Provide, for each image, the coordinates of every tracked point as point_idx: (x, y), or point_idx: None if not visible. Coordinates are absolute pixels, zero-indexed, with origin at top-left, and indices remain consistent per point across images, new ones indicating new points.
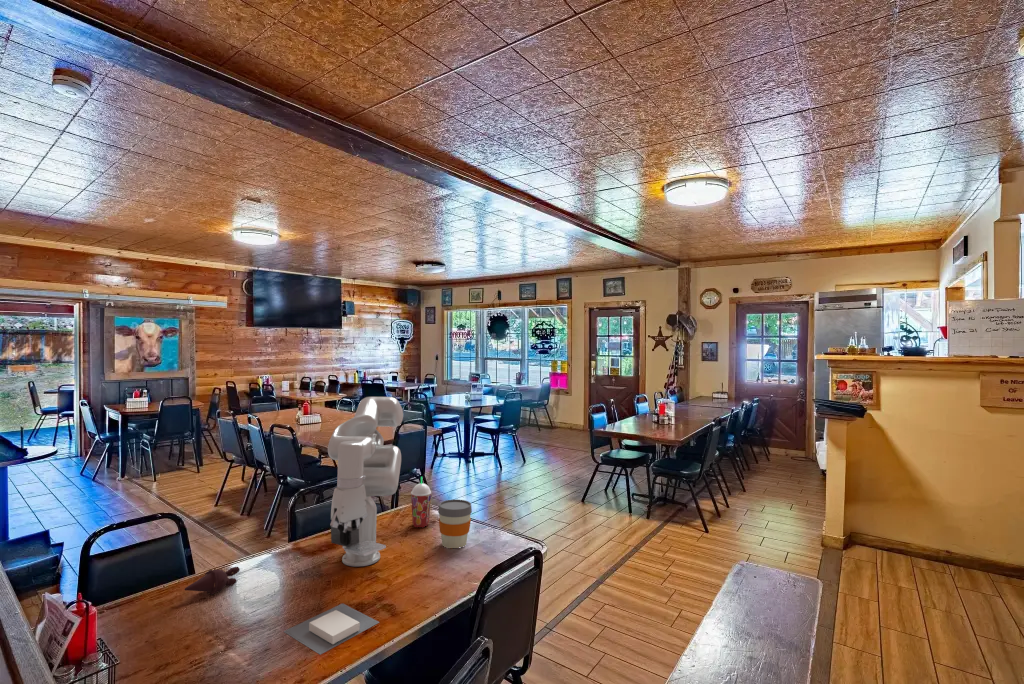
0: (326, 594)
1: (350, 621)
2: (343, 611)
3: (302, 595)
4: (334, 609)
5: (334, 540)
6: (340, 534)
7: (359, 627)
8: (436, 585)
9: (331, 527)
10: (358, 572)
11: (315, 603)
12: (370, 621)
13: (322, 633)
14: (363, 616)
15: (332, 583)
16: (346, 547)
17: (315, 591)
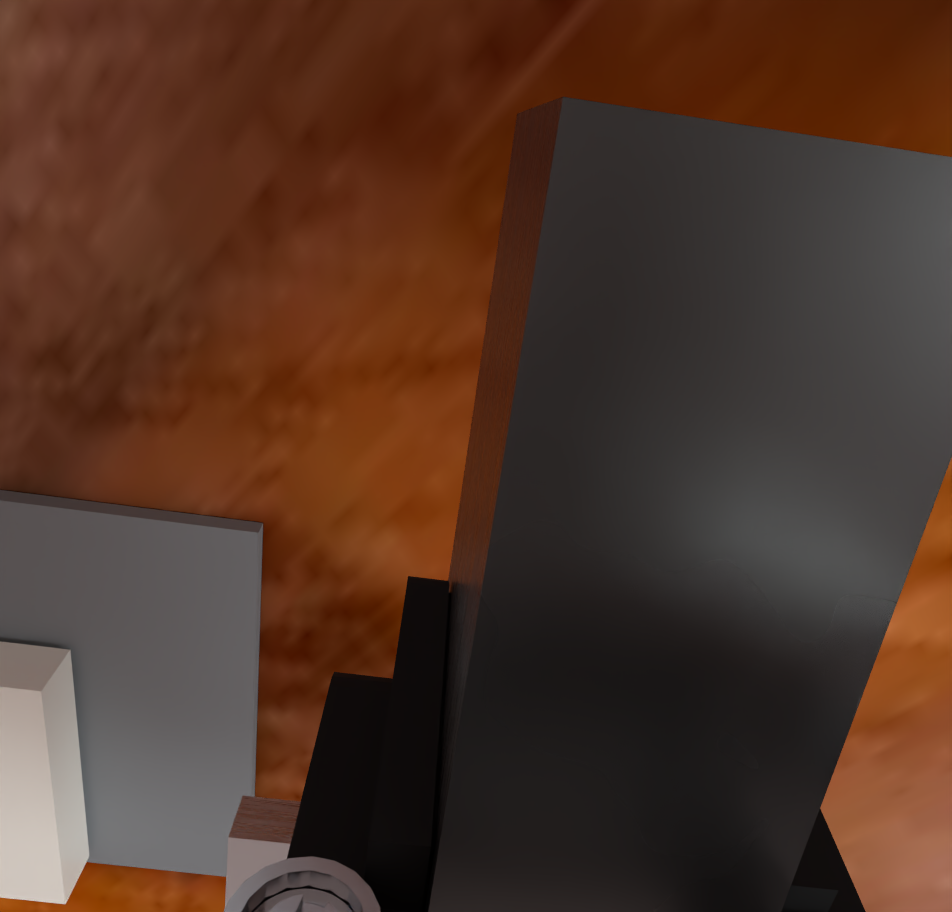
0: (311, 237)
1: (25, 860)
2: (178, 622)
3: (127, 3)
4: (147, 547)
5: (498, 277)
6: (295, 826)
7: (80, 872)
8: (896, 872)
9: (550, 144)
10: (909, 144)
11: (125, 287)
12: (215, 837)
13: None
14: (227, 772)
15: (531, 84)
16: (277, 851)
17: (282, 64)
